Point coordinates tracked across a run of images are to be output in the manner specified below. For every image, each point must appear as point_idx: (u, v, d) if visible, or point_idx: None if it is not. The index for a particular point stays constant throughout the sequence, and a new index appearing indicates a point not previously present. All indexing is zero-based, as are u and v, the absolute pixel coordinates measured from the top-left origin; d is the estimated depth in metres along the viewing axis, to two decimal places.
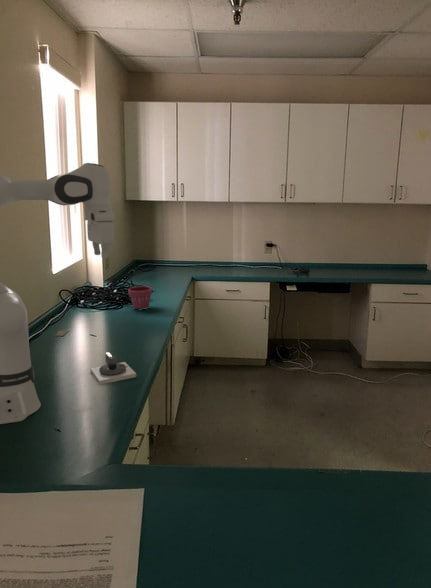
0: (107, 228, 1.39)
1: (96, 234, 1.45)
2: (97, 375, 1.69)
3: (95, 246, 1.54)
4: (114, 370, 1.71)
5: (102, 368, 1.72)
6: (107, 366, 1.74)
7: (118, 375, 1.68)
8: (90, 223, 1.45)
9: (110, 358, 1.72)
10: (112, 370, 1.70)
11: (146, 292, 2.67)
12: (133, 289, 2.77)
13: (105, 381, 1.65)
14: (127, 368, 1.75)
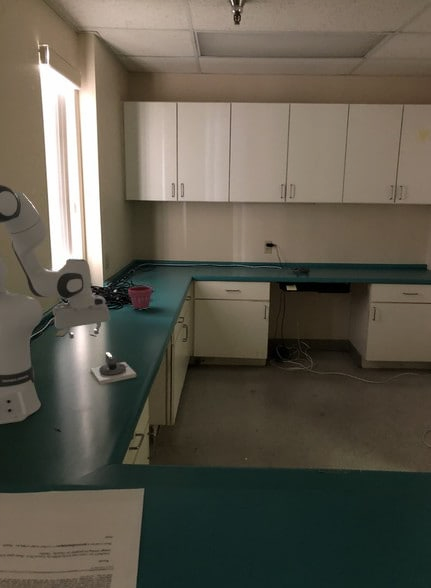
0: None
1: (91, 316, 1.69)
2: (97, 375, 1.69)
3: None
4: (114, 370, 1.71)
5: (102, 368, 1.72)
6: (107, 366, 1.74)
7: (118, 375, 1.68)
8: (85, 309, 1.66)
9: (110, 358, 1.72)
10: (112, 370, 1.70)
11: (146, 292, 2.67)
12: (133, 289, 2.77)
13: (105, 381, 1.65)
14: (127, 368, 1.75)
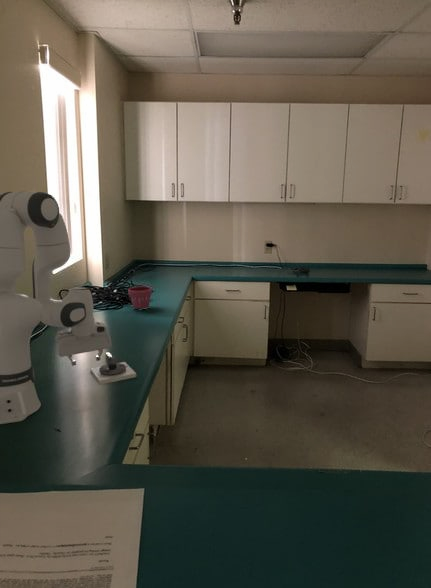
0: None
1: (93, 343, 1.71)
2: (97, 375, 1.69)
3: (71, 358, 1.70)
4: (114, 370, 1.71)
5: (102, 368, 1.72)
6: (107, 366, 1.74)
7: (118, 375, 1.68)
8: (88, 337, 1.69)
9: (110, 358, 1.72)
10: (112, 370, 1.70)
11: (146, 292, 2.67)
12: (133, 289, 2.77)
13: (105, 381, 1.65)
14: (127, 368, 1.75)
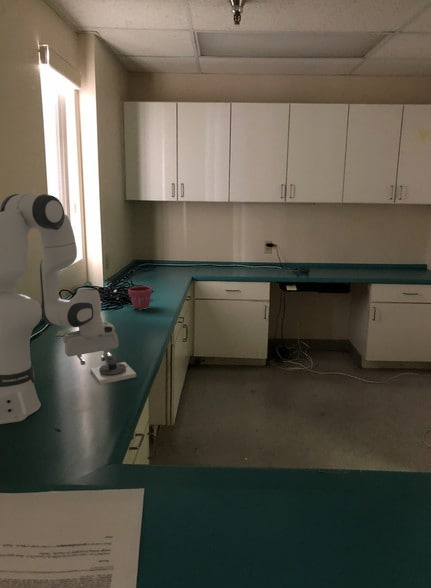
0: None
1: (101, 343, 1.73)
2: (97, 375, 1.69)
3: (80, 358, 1.71)
4: (114, 370, 1.71)
5: (102, 368, 1.72)
6: (107, 366, 1.74)
7: (118, 375, 1.68)
8: (95, 337, 1.70)
9: (110, 358, 1.72)
10: (112, 370, 1.70)
11: (146, 292, 2.67)
12: (133, 289, 2.77)
13: (105, 381, 1.65)
14: (127, 368, 1.75)
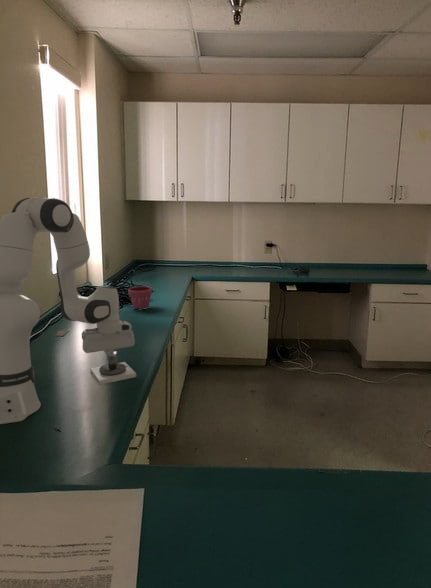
0: None
1: (117, 341, 1.76)
2: (97, 375, 1.69)
3: None
4: (111, 370, 1.70)
5: (104, 366, 1.74)
6: None
7: (118, 375, 1.68)
8: (113, 334, 1.73)
9: (110, 358, 1.72)
10: (109, 370, 1.70)
11: (146, 292, 2.67)
12: (133, 289, 2.77)
13: (105, 381, 1.65)
14: (127, 368, 1.75)
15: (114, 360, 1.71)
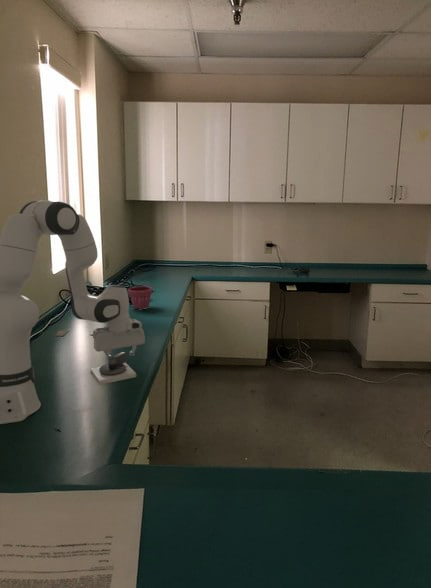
0: None
1: (128, 339, 1.78)
2: (97, 375, 1.69)
3: None
4: (108, 370, 1.71)
5: (108, 365, 1.76)
6: None
7: (118, 375, 1.68)
8: (123, 332, 1.75)
9: (110, 357, 1.72)
10: (106, 369, 1.71)
11: (146, 292, 2.67)
12: (133, 289, 2.77)
13: (105, 381, 1.65)
14: (127, 368, 1.75)
15: (112, 360, 1.71)
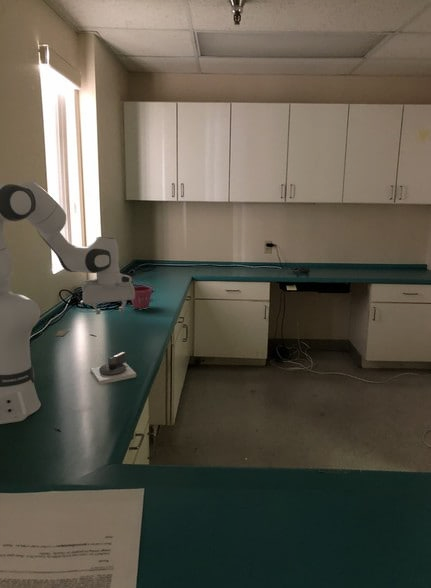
0: None
1: (118, 293, 1.75)
2: (97, 375, 1.69)
3: None
4: (108, 370, 1.71)
5: (108, 365, 1.76)
6: None
7: (118, 375, 1.68)
8: (113, 286, 1.73)
9: (110, 357, 1.72)
10: (106, 369, 1.71)
11: (146, 292, 2.67)
12: None
13: (105, 381, 1.65)
14: (127, 368, 1.75)
15: (112, 360, 1.71)
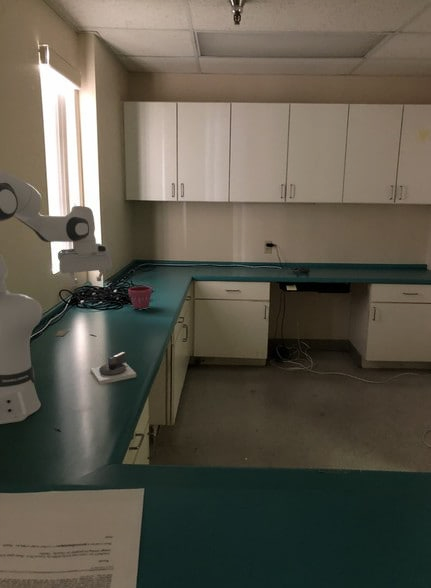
0: None
1: (94, 263, 1.77)
2: (97, 375, 1.69)
3: None
4: (108, 370, 1.71)
5: (108, 365, 1.76)
6: None
7: (118, 375, 1.68)
8: (89, 255, 1.75)
9: (110, 357, 1.72)
10: (106, 369, 1.71)
11: (146, 292, 2.67)
12: (133, 289, 2.77)
13: (105, 381, 1.65)
14: (127, 368, 1.75)
15: (112, 360, 1.71)
